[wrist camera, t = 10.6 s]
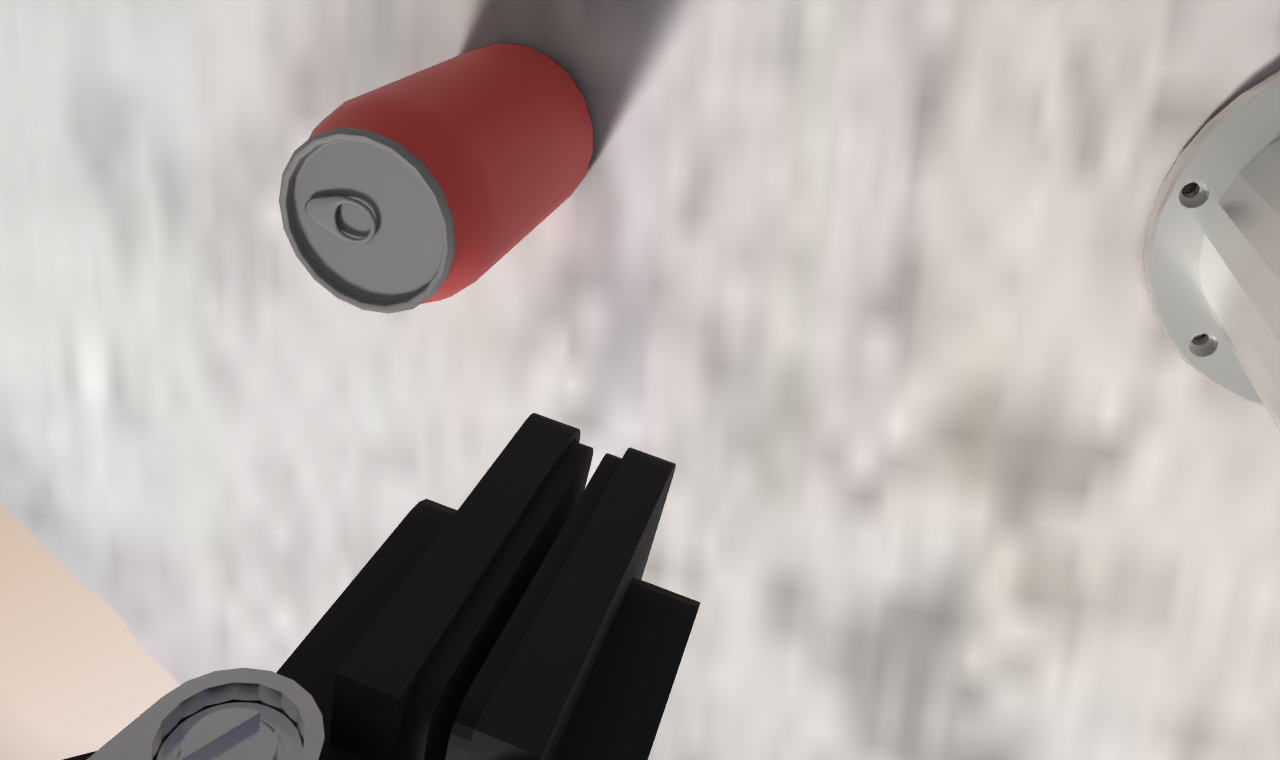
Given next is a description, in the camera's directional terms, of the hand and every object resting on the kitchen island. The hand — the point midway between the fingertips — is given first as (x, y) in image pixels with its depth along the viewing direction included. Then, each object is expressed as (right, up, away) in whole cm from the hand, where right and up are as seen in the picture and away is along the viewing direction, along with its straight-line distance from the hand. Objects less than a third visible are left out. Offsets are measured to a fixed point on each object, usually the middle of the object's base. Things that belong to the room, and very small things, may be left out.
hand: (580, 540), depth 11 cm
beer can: (-4, +12, +27) cm, 30 cm away
